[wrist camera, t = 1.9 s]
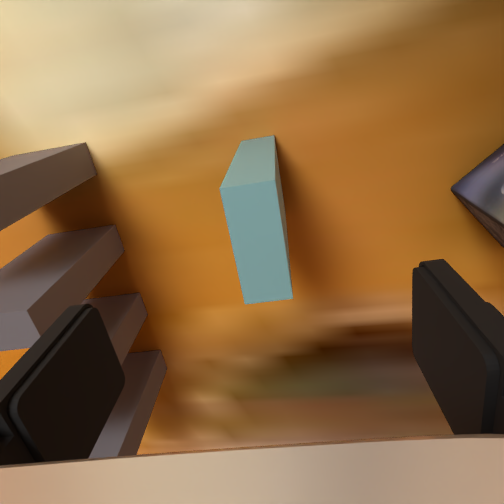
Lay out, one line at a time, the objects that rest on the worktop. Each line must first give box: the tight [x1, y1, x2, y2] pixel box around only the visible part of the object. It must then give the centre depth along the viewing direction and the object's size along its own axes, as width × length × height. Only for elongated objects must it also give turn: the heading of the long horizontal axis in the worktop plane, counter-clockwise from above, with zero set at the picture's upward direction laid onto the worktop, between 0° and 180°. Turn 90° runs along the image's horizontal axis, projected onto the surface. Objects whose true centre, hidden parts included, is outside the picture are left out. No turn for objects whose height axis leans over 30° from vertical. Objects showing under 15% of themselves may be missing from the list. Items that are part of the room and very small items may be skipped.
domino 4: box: [88, 350, 167, 459], centre depth 26 cm, size 2×5×10 cm, turn 100°
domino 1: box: [0, 142, 97, 231], centre depth 19 cm, size 2×5×10 cm, turn 100°
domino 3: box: [80, 293, 148, 365], centre depth 24 cm, size 2×5×10 cm, turn 100°
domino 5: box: [220, 135, 293, 304], centre depth 19 cm, size 2×5×10 cm, turn 10°
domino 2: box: [0, 225, 125, 351], centre depth 21 cm, size 2×5×10 cm, turn 100°
